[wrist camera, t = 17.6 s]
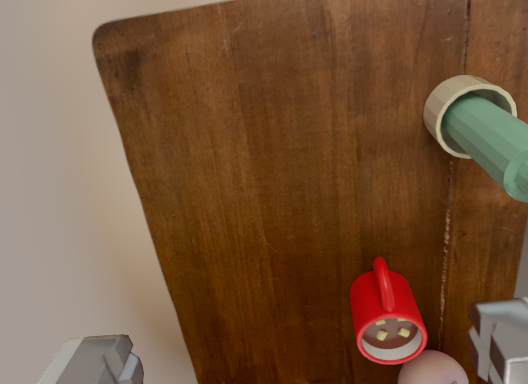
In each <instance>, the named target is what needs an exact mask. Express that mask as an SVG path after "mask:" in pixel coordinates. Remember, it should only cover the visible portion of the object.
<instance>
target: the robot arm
mask: <svg viewBox="0 0 528 384" xmlns="http://www.w3.org/2000/svg"><path fill="white" fill-rule="evenodd" d="M469 318H470V320H471V322H472V324H473V327H472V328H471V329H470V330H469V331H468V344H469V350H470V355H471V358H472V361H473V364H474V367H475V369H476V371H477V373H478V375H479V376H480V377H481V378H483V379H484V380H485V381H487V382H488V383H487V384H528V297H524V298H520V299H519V298H514V299H504V300H494V301H484V302H474V303H471V304H470V307H469ZM132 347H133V343H132V342H131V340H130V338H129V336H128V335H123V334H122V335H107V336H91V337H83V338H70V339H68V340H67V341H65V342H64V343H63V345H62V346H61V348H60V349H59V351H58V352H57V354H56V355H55V357H54V358H53V360H52V361H51V363H50V364H49V366H48V367H47V369H46V370H45V372H44V373H43V375H42V376H41V378H40V379H39V381H38V382H37V384H143V376H144V372H143V366H142V363H141V361H140V358H139V357H138V356H136V355H135V354H133V353H132V352H131V349H132Z"/></svg>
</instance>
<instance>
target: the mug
mask: <svg viewBox="0 0 528 384" xmlns="http://www.w3.org/2000/svg"><path fill="white" fill-rule="evenodd" d="M349 301H350V307H351V313H352V319H353V326H354V332H355V338H356V344H357V347H358V349H359V351H360V352H361V353H362V354H363V355H364V356H365V357H366V358H368V359H369V360H371V361H374V362H377V363H381V364H388V365H389V364H399V363H404V362H407V361H409V360H411V359H413V358H415V357H416V356H418V355H419V354H420V353H421V352H422V351H423V349H424V348H425V346H426V343H427V331H426V328H425V326H424V323H423V320H422V318H421V315H420V312H419V309H418V307H417V304H416V301H415V299H414V296H413V293H412V291H411V288H410V285H409V283H408V281H407V280H406V279H405V278H404V277H403V276H402V275H400V274H398V273H396V272H394V271H390V270H388V267H387V264H386V262H385V260H384V259H383V258H382V257H375V258H374V260H373V271H369V272H366V273H364V274H362V275H361V276H359V277H358V278H357V279H356V280H355V281H354V282H353V283H352V285H351V287H350V289H349Z"/></svg>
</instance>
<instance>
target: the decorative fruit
mask: <svg viewBox="0 0 528 384" xmlns="http://www.w3.org/2000/svg"><path fill="white" fill-rule="evenodd" d="M398 384H469V383H468V378H467V375H466V373H465V371H464V370H463V368H462V367H461V366H460V365H459V364H458V363H457V362H456V361H455V360H454V359H453V358H451V357H450V356H448V355H446V354H444V353H442V352H439V351H434V350H423V351H422V352H421V353H420V354H419V355H418V356H416V357H415V358H413V359H411V360H409V361H407V362H405V363H404V365H403V366H402V368H401V370H400V373H399V378H398Z"/></svg>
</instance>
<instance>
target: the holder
mask: <svg viewBox="0 0 528 384" xmlns="http://www.w3.org/2000/svg"><path fill="white" fill-rule="evenodd" d="M469 91H472V92H474V93H477V94H478V95H480V96H482V97H483V98H485V99H487V100H488V101H490V102H492V103H493V104H495V105H496V106H498V107H500V108H501V109H503V110H505V111H506V112H508V113H510V114H511V115H513V116H515V117H516V118H517V112H516V104H515V102H514V101H513V99H512V97H511V96H510V94H509V93H508V92H506V91H505V90H503V89H501V88H500V87H498V86H496V85H494V84H492V83H490V82H488V81H486V80H484V79H483V78H480V77H477V76H473V75H459V76H455V77H452V78H449V79H447V80H445V81H444V82H442V83H441V84H439V85H438V86H437V87H436V88H435V89H434V90H433V91H432V93H431V94H430V95H429V97H428V99H427V101H426V103H425V106H424V111H423V118H424V123H425V126H426V128H427V130H428V131H429V132H430V134H431V135H432V136H433V138H434V139H435V140H436V141H437V142H438V143H439V144H440V146H441V147H442V148H443V149H444V150H445V151H447V152H448V153H450V154H452V155H453V156H455V157H461V158H466V159H469V158H472V157H471V156H470V155H469V154H468V153H467V152H466V151H465V150H464V149H463V148H462V147H461V146H460V145H459V144H458V143H457V142H456V141H455V140H454V139H453V138H452V137H451V136H450V135H449V134H448V133H447V132H446V131H445V130H444V129H443V128H442V127H441V120H442V116H443V115H444V113H445V111H446V109H447V108H448V106H449V105H450V104H451V103H452V102H453V101H454V100H455V99H456V98H458V97H459V96H461V95H463V94H465V93H467V92H469Z"/></svg>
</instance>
